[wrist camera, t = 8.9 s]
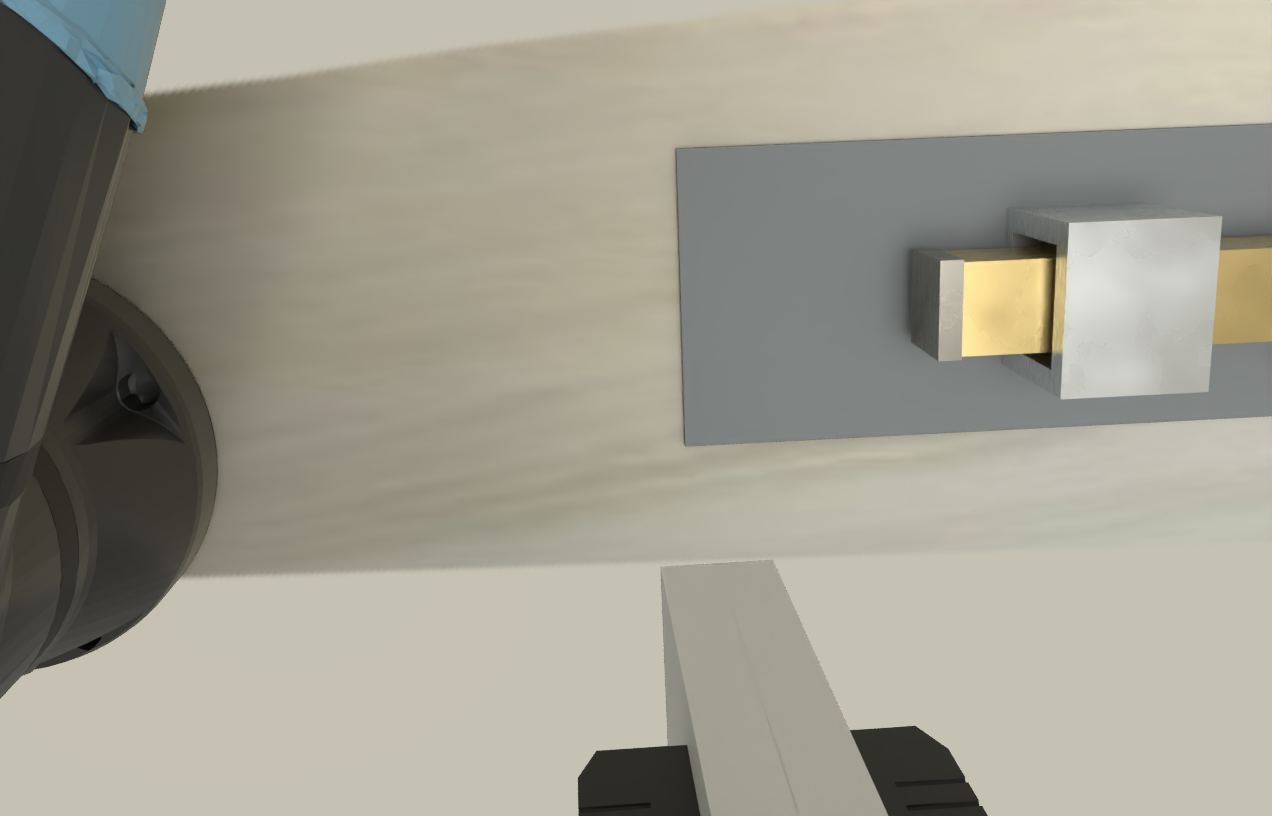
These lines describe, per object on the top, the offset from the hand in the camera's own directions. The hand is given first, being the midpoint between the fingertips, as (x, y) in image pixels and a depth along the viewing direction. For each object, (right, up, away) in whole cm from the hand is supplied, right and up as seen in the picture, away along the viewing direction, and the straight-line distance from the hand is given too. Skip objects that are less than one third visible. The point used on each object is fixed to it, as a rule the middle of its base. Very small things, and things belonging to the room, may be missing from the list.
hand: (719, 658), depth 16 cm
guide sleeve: (+16, +8, +29) cm, 34 cm away
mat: (+16, +8, +29) cm, 34 cm away
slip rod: (+17, +8, +28) cm, 33 cm away
